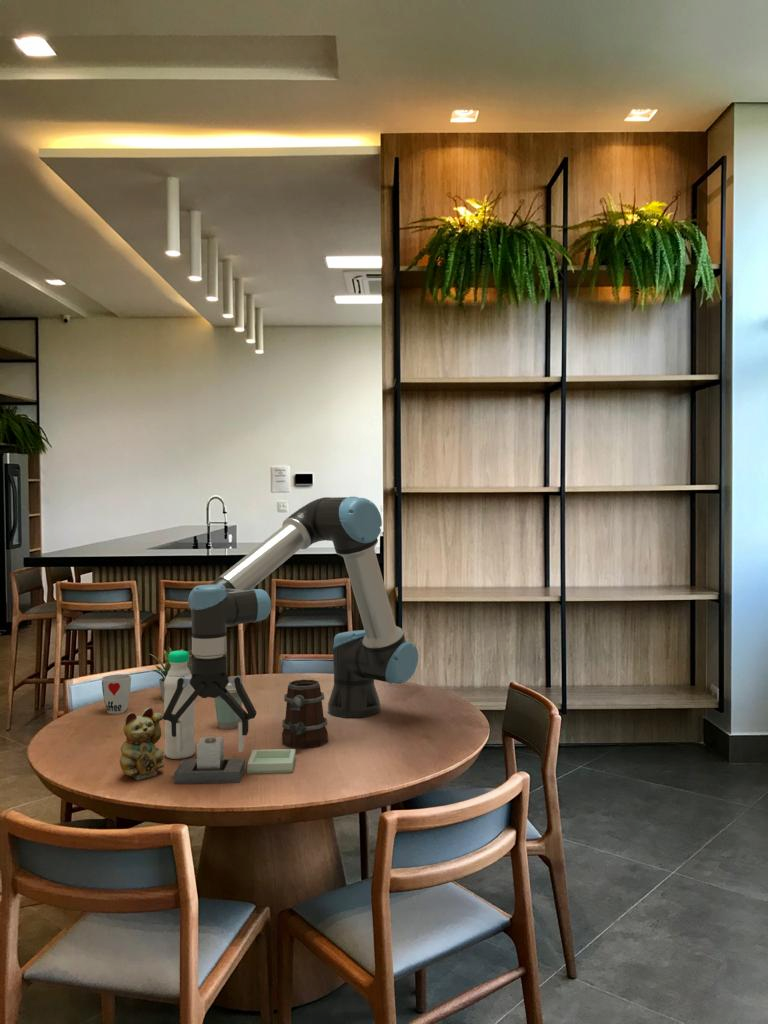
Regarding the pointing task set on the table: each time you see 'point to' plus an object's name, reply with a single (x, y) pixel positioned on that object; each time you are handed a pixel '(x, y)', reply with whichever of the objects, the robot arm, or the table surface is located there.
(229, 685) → the coffee cup
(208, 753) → the block
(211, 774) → the grey rectangular frame
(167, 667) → the house plant
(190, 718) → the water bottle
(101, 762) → the table surface
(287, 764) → the parts tray
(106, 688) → the cup
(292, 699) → the mug
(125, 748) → the decorative figurine
